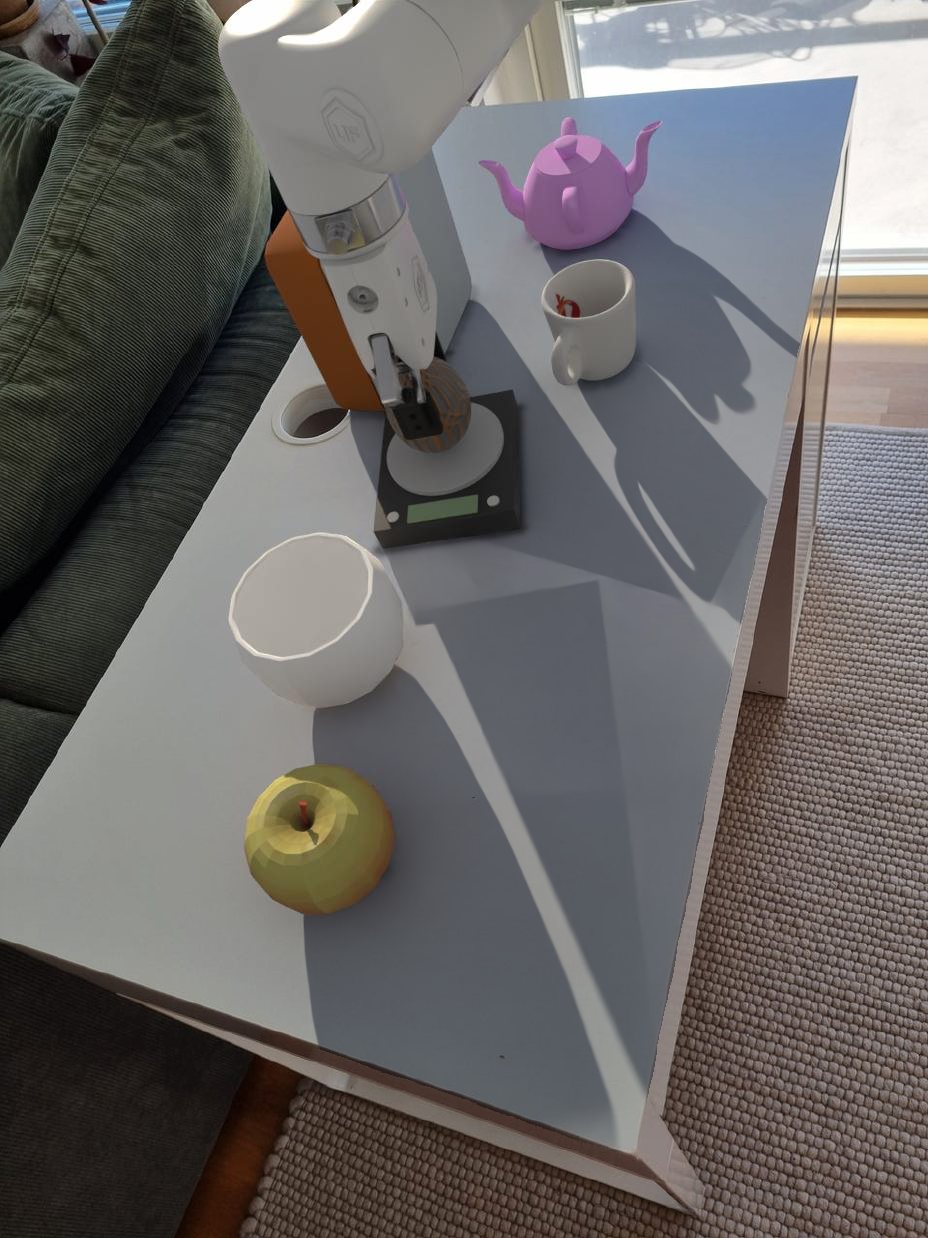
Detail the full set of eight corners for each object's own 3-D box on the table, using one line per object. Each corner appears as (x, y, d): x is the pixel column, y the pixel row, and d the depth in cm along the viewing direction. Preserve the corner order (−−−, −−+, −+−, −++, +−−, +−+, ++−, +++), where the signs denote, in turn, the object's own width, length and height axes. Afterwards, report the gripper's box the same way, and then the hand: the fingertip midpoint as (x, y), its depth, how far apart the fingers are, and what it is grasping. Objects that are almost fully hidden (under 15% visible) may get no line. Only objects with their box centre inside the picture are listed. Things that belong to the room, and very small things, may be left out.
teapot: (497, 237, 100) (476, 160, 93) (592, 167, 103) (579, 86, 96) (570, 276, 93) (554, 195, 86) (670, 200, 96) (663, 116, 89)
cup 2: (608, 421, 81) (594, 350, 75) (528, 405, 85) (509, 336, 79) (658, 337, 85) (649, 263, 79) (580, 325, 89) (565, 253, 83)
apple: (409, 784, 67) (371, 734, 61) (407, 921, 62) (365, 882, 55) (282, 800, 69) (232, 754, 63) (269, 935, 64) (213, 899, 57)
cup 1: (436, 597, 76) (398, 522, 68) (406, 735, 69) (360, 670, 62) (299, 598, 80) (248, 527, 72) (258, 729, 73) (198, 668, 65)
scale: (518, 408, 85) (511, 383, 83) (520, 528, 77) (512, 505, 75) (393, 431, 88) (382, 407, 85) (382, 549, 80) (370, 527, 78)
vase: (470, 395, 81) (441, 314, 74) (487, 448, 77) (459, 368, 70) (396, 422, 82) (360, 344, 75) (409, 476, 78) (373, 399, 71)
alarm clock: (400, 288, 100) (328, 98, 83) (477, 287, 96) (417, 88, 80) (338, 416, 91) (244, 231, 75) (420, 419, 88) (340, 226, 71)
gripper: (393, 275, 57) (469, 472, 71) (409, 121, 66) (473, 322, 81) (279, 301, 58) (375, 488, 73) (310, 147, 68) (390, 339, 82)
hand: (426, 399), depth 76 cm, fingers closed on vase, 6 cm apart
